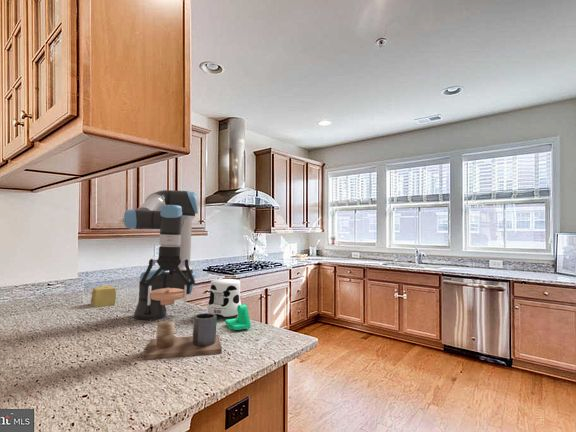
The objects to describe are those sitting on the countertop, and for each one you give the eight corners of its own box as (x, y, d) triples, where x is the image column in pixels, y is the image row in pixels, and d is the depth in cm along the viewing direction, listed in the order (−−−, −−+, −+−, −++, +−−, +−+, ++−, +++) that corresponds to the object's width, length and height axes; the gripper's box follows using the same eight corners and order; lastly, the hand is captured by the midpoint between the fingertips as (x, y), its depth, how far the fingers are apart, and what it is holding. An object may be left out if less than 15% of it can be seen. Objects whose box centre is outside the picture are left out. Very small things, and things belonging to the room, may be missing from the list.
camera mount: (224, 325, 147) (225, 303, 148) (239, 323, 151) (240, 301, 152) (234, 332, 137) (235, 309, 138) (250, 330, 141) (251, 307, 142)
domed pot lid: (147, 308, 109) (148, 293, 110) (152, 300, 121) (152, 286, 121) (183, 307, 113) (184, 292, 113) (184, 299, 124) (185, 285, 124)
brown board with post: (144, 359, 106) (145, 331, 107) (150, 343, 122) (151, 318, 122) (221, 353, 114) (222, 326, 114) (218, 338, 129) (219, 315, 130)
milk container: (235, 310, 174) (237, 278, 175) (245, 318, 159) (246, 283, 160) (204, 313, 167) (205, 279, 168) (210, 322, 151) (212, 284, 152)
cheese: (90, 304, 178) (91, 286, 179) (111, 301, 186) (112, 285, 186) (94, 308, 171) (95, 289, 171) (115, 305, 178) (116, 287, 178)
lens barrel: (187, 343, 119) (189, 316, 119) (204, 337, 126) (206, 312, 126) (203, 348, 114) (204, 320, 114) (219, 341, 121) (220, 315, 121)
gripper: (132, 246, 110) (129, 307, 110) (203, 247, 117) (200, 304, 117) (136, 244, 118) (133, 302, 117) (202, 245, 125) (200, 300, 124)
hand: (167, 303), depth 117 cm, fingers closed on domed pot lid, 12 cm apart
